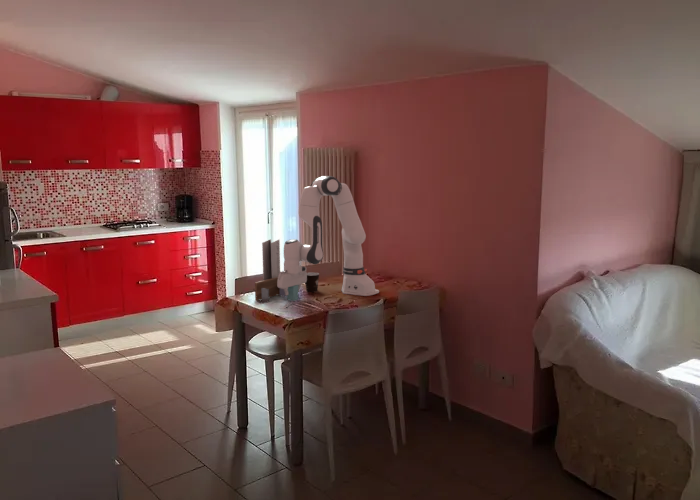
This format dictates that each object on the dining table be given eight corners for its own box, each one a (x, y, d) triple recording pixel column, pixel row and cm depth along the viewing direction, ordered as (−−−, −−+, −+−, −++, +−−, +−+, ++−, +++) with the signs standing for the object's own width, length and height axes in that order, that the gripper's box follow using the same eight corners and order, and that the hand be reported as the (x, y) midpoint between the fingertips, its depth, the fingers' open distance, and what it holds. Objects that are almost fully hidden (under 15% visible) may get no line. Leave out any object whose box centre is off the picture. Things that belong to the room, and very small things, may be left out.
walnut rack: (297, 293, 341) (297, 276, 339) (266, 302, 322) (265, 284, 320) (286, 291, 346) (286, 274, 345) (255, 300, 327) (254, 282, 325)
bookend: (269, 301, 323) (268, 289, 322) (262, 303, 320) (262, 290, 319) (262, 300, 326) (262, 287, 325) (256, 301, 323) (256, 289, 322)
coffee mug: (313, 288, 355) (313, 271, 353) (322, 290, 348) (322, 274, 347) (297, 291, 348) (297, 274, 346) (305, 293, 341) (305, 276, 339)
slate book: (290, 295, 337) (290, 282, 335) (286, 297, 334) (285, 283, 332) (284, 294, 340) (283, 280, 338) (279, 295, 337) (279, 282, 335)
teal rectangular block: (298, 299, 328) (298, 285, 326) (293, 300, 325) (293, 286, 324) (291, 298, 331) (291, 284, 330) (287, 299, 328) (286, 285, 327)
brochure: (272, 295, 338) (271, 243, 334) (263, 294, 340) (262, 242, 335) (280, 289, 352) (279, 239, 347) (271, 288, 353) (270, 239, 348)
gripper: (282, 272, 315) (283, 298, 317) (308, 267, 331) (308, 291, 333) (274, 271, 319) (274, 296, 321) (300, 265, 335) (300, 289, 337)
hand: (292, 293), depth 327 cm, fingers open, 7 cm apart
